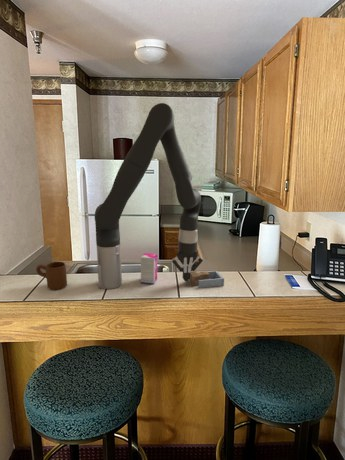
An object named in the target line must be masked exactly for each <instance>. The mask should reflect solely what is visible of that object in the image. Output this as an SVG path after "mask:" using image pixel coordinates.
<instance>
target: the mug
mask: <svg viewBox="0 0 345 460" xmlns="http://www.w3.org/2000/svg"><path fill="white" fill-rule="evenodd" d="M65 263H66V262H63V261H54V262H52V261H51V262H49V263H47V264H37V266H36V270H35V271H36V273H37V275H39V277H42V278H45V279H46V285H47V288H48V289H49V290H50V291H59V290H63V289H65V288H66V287H67V286H68V278H67V277H68V276H67V266H66V264H65ZM42 269H43V270H44V271H45V272H43V271H42Z"/></svg>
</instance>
